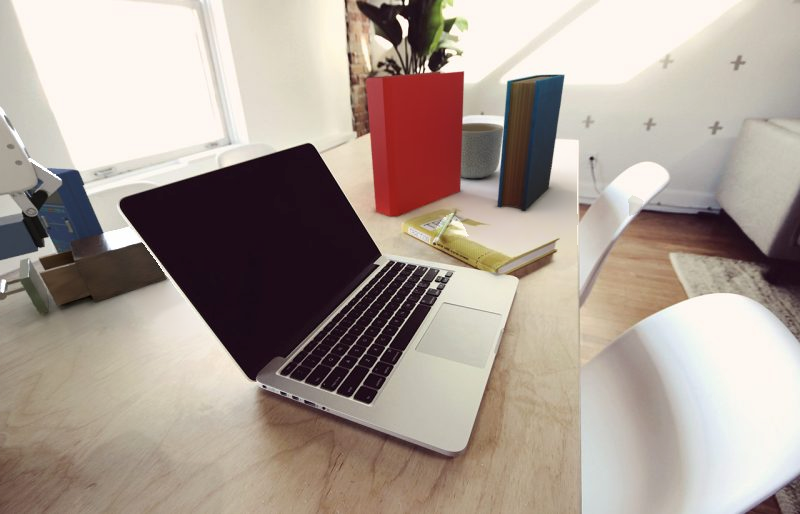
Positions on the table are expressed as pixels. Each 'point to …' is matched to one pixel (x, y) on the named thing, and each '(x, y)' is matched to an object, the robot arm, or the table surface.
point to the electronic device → (68, 210)
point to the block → (15, 237)
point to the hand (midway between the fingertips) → (16, 248)
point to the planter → (480, 149)
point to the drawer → (49, 281)
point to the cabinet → (115, 263)
